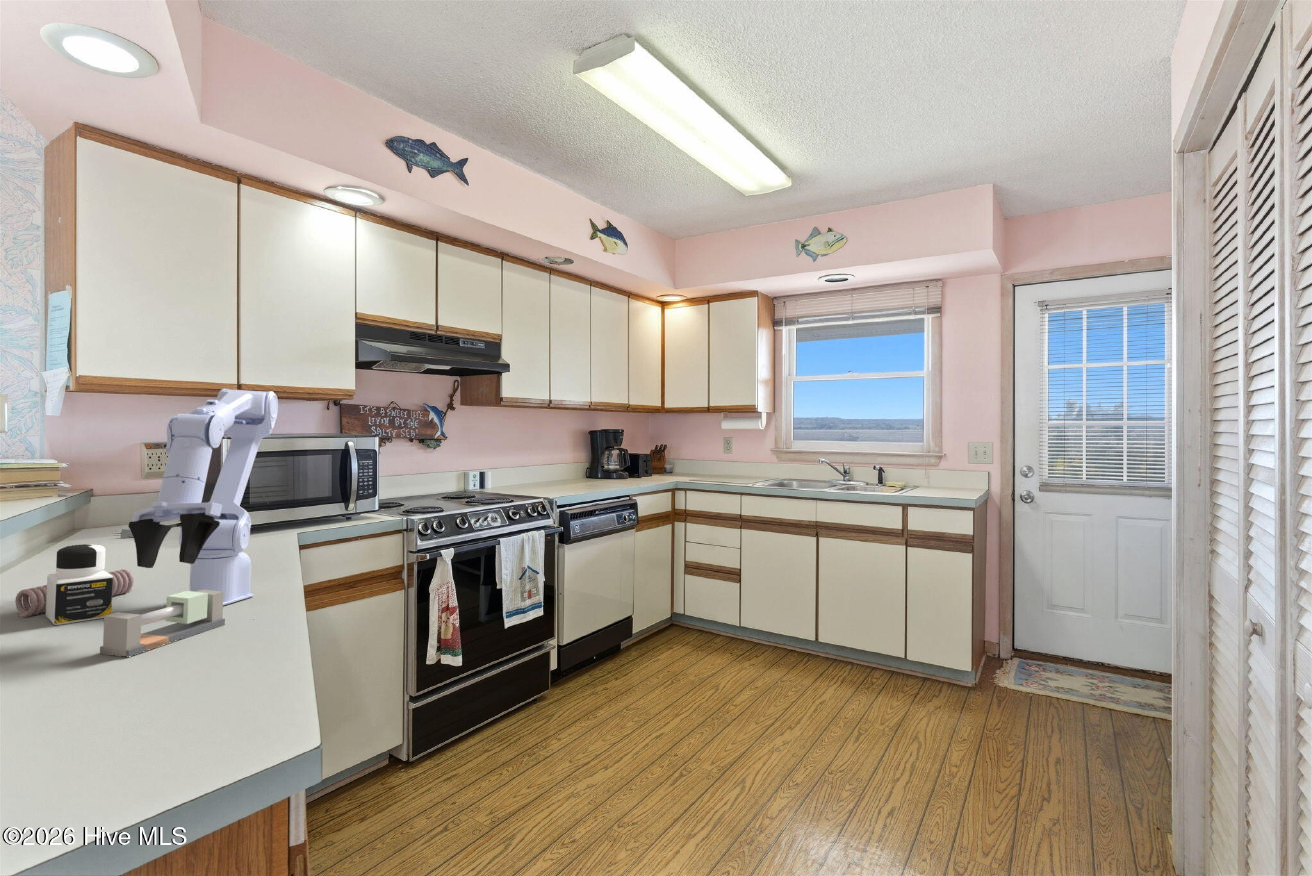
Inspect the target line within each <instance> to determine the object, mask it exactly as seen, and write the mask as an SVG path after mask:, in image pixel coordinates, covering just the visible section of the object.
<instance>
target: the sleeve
mask: <svg viewBox="0 0 1312 876" xmlns="http://www.w3.org/2000/svg"><path fill="white" fill-rule="evenodd" d="M181 603H184V612H183V614H179V615H176V616H173V617H169V618H166V619H165V622H170V623H185V624H188V623H191V622H194V621H198V620H201V619H204V618H207V604H208V593H202V592H193V591H189V590H184V591H182V592H178V593H174V594H170V595H167V596H166V607H165V608H167V607H171V606H174V605H178V604H181Z"/></svg>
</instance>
